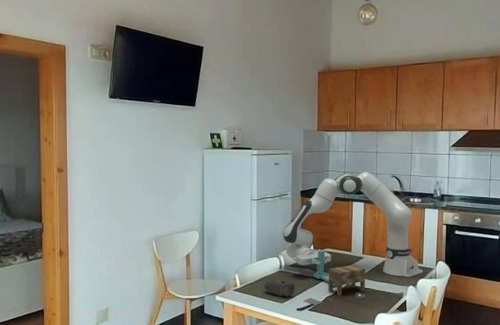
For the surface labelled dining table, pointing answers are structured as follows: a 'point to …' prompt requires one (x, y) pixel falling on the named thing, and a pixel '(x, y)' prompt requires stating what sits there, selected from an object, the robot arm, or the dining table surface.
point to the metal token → (360, 295)
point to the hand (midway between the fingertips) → (322, 262)
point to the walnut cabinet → (346, 277)
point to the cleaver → (310, 301)
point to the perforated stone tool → (280, 288)
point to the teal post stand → (321, 268)
